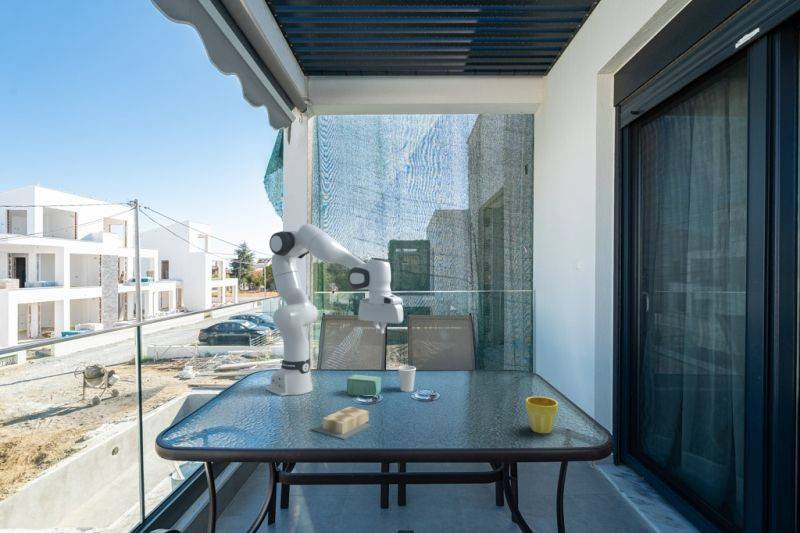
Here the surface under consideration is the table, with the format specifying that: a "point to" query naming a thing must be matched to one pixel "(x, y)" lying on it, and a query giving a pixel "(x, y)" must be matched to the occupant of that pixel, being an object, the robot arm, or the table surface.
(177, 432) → the table surface
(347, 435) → the mat
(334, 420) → the oak slab
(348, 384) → the box
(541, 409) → the plant pot
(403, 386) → the dixie cup
